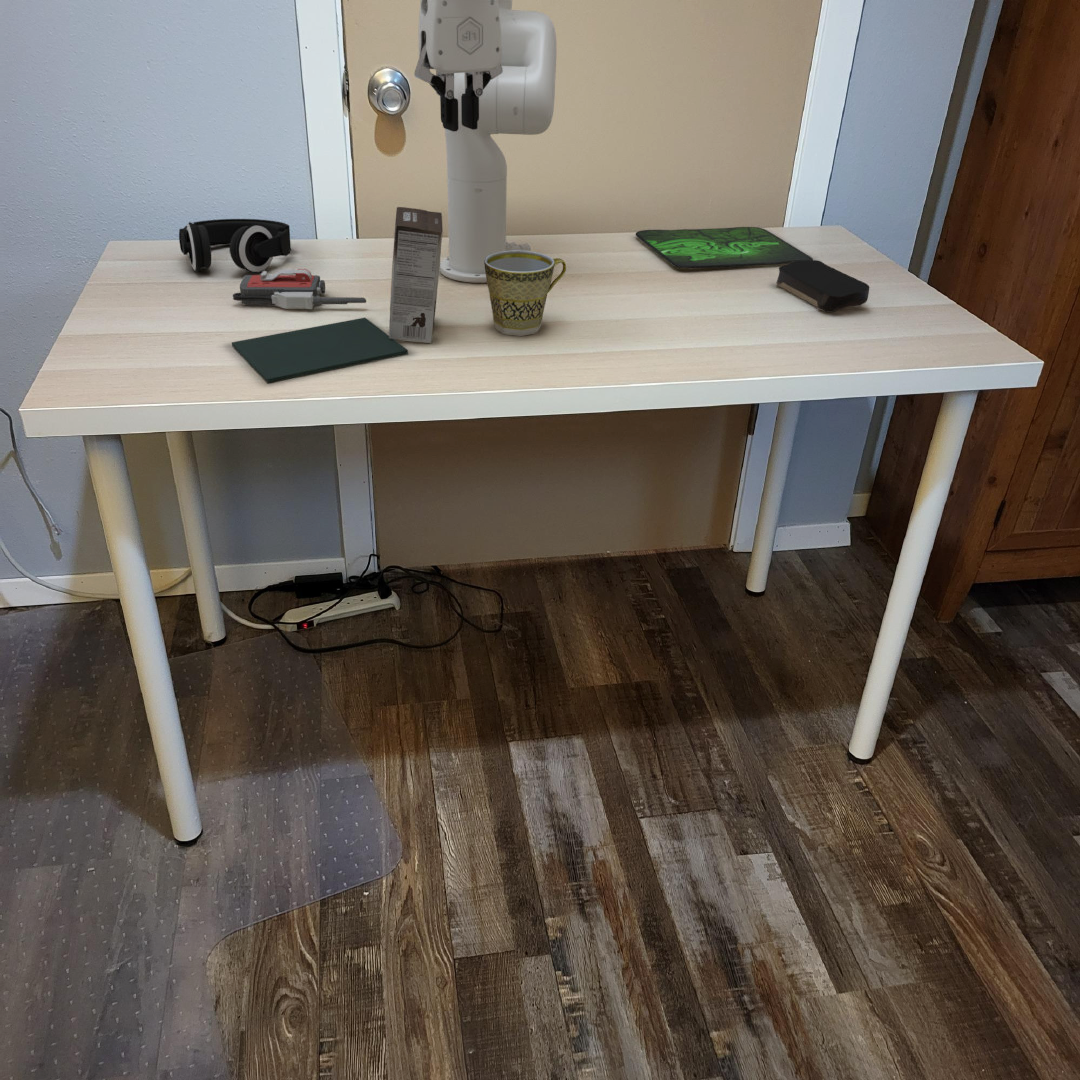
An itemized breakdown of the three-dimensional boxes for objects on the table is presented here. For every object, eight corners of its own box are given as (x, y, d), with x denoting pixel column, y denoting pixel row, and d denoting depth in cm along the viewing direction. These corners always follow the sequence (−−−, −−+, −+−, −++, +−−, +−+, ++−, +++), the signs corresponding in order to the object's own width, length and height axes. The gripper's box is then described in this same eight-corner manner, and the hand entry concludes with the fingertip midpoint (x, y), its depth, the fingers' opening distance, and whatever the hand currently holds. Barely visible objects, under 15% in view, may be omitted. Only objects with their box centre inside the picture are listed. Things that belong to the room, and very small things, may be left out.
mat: (365, 321, 144) (365, 317, 144) (408, 353, 135) (407, 349, 134) (232, 346, 135) (231, 342, 135) (267, 383, 125) (267, 379, 125)
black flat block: (871, 311, 155) (876, 288, 153) (827, 316, 152) (832, 293, 150) (811, 279, 167) (814, 257, 165) (769, 283, 164) (772, 262, 162)
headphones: (160, 225, 153) (195, 206, 171) (167, 276, 156) (200, 252, 174) (275, 229, 154) (297, 209, 172) (279, 279, 157) (301, 255, 175)
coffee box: (389, 316, 144) (396, 205, 136) (433, 320, 145) (442, 211, 137) (387, 339, 137) (394, 223, 128) (433, 344, 138) (443, 229, 129)
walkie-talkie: (230, 311, 146) (366, 312, 147) (226, 282, 143) (364, 283, 145) (241, 291, 153) (370, 292, 155) (237, 263, 151) (368, 264, 152)
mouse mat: (760, 228, 192) (761, 222, 191) (818, 262, 174) (819, 257, 174) (631, 235, 185) (631, 230, 184) (677, 272, 167) (678, 266, 167)
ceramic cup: (506, 345, 138) (507, 276, 133) (472, 322, 145) (471, 255, 140) (581, 329, 144) (585, 262, 139) (545, 308, 151) (547, 243, 146)
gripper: (413, -28, 114) (419, 139, 124) (529, -29, 122) (525, 129, 132) (385, -33, 119) (393, 128, 129) (498, -33, 127) (497, 119, 137)
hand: (460, 127), depth 130 cm, fingers closed
